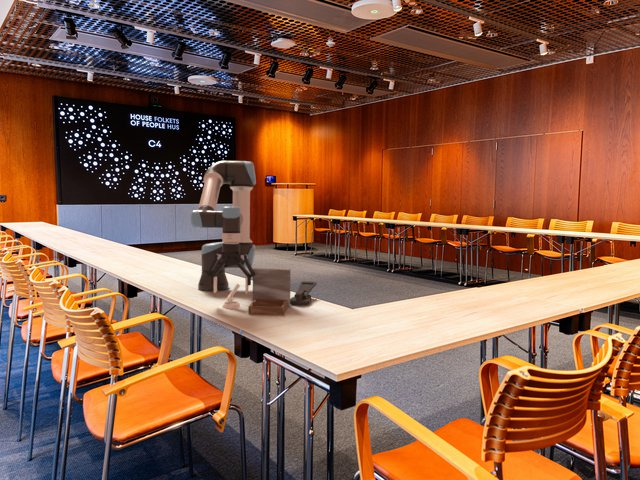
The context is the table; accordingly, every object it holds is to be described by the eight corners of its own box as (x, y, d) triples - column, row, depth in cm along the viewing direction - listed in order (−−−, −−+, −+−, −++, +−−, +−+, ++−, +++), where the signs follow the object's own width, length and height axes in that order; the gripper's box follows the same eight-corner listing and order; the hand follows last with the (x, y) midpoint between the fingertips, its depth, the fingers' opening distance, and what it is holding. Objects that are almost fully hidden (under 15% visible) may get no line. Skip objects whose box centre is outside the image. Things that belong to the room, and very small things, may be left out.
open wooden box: (253, 304, 208) (253, 268, 207) (290, 305, 208) (290, 269, 206) (245, 314, 192) (246, 274, 190) (285, 315, 191) (286, 275, 190)
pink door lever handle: (249, 296, 200) (235, 288, 199) (233, 318, 203) (219, 309, 201) (250, 289, 208) (237, 281, 206) (234, 310, 210) (221, 301, 208)
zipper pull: (318, 281, 231) (308, 291, 207) (317, 295, 232) (307, 306, 207) (300, 280, 233) (288, 290, 208) (299, 294, 233) (287, 305, 209)
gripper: (199, 243, 199) (199, 293, 201) (259, 244, 198) (258, 294, 200) (204, 241, 207) (204, 290, 208) (262, 242, 206) (261, 291, 207)
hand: (231, 292), depth 204 cm, fingers open, 13 cm apart
